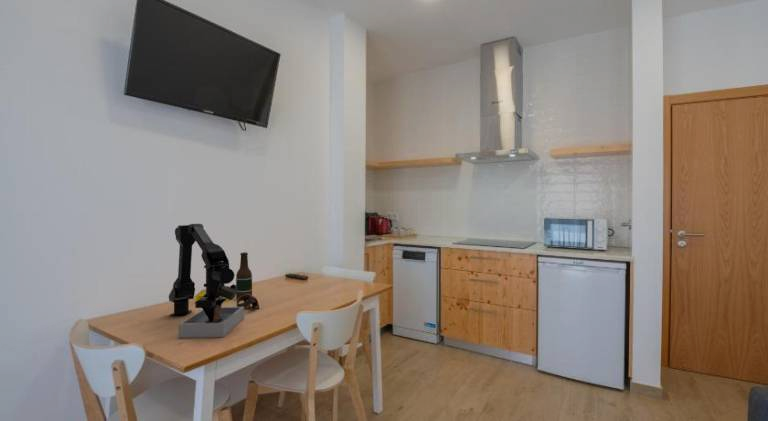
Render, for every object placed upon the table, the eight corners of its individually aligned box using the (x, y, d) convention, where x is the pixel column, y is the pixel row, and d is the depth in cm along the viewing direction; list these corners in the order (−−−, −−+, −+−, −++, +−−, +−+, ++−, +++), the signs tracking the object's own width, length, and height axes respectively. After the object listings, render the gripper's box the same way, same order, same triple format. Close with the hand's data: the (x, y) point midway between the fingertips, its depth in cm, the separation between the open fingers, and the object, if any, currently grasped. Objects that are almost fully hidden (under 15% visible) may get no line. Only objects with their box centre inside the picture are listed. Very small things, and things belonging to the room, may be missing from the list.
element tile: (194, 304, 175) (194, 294, 175) (202, 297, 189) (202, 288, 189) (227, 302, 178) (227, 293, 178) (232, 295, 193) (232, 286, 193)
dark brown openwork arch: (263, 311, 164) (255, 297, 161) (243, 322, 161) (235, 309, 157) (257, 299, 174) (250, 286, 171) (238, 309, 171) (231, 296, 167)
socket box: (205, 318, 151) (205, 307, 151) (244, 318, 152) (244, 306, 152) (178, 337, 129) (178, 324, 129) (223, 337, 130) (223, 323, 130)
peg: (210, 322, 142) (210, 304, 142) (221, 321, 142) (221, 304, 142) (206, 325, 138) (206, 307, 138) (217, 325, 138) (217, 307, 138)
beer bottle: (255, 298, 185) (255, 252, 185) (242, 301, 179) (242, 254, 178) (245, 296, 189) (245, 251, 189) (232, 299, 183) (232, 252, 183)
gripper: (225, 285, 131) (225, 327, 131) (242, 275, 150) (242, 312, 150) (194, 285, 131) (194, 327, 131) (215, 275, 149) (215, 312, 149)
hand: (213, 319), depth 140 cm, fingers closed on peg, 4 cm apart
